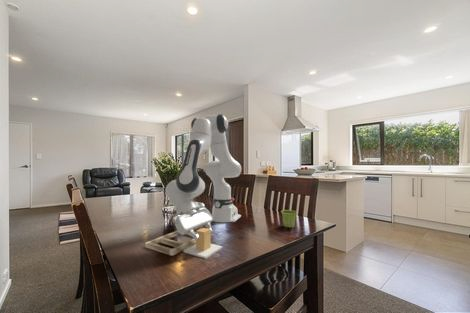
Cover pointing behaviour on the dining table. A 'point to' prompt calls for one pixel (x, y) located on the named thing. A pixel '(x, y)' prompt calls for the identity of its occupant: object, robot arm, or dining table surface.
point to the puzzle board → (166, 240)
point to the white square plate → (203, 254)
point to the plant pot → (289, 218)
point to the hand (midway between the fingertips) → (204, 235)
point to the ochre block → (203, 239)
